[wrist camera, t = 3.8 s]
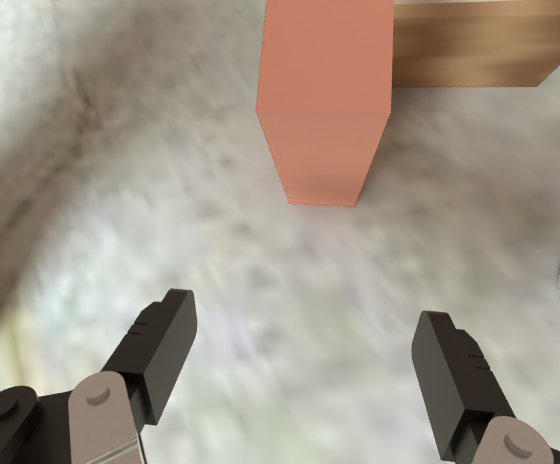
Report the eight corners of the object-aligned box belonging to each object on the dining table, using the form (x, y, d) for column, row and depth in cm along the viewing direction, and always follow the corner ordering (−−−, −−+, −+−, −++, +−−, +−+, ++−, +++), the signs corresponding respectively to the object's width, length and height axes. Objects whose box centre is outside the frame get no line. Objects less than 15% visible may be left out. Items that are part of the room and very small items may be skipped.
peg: (289, 203, 21) (255, 110, 10) (293, 143, 22) (267, -3, 11) (354, 206, 21) (391, 111, 10) (357, 144, 21) (393, -7, 10)
